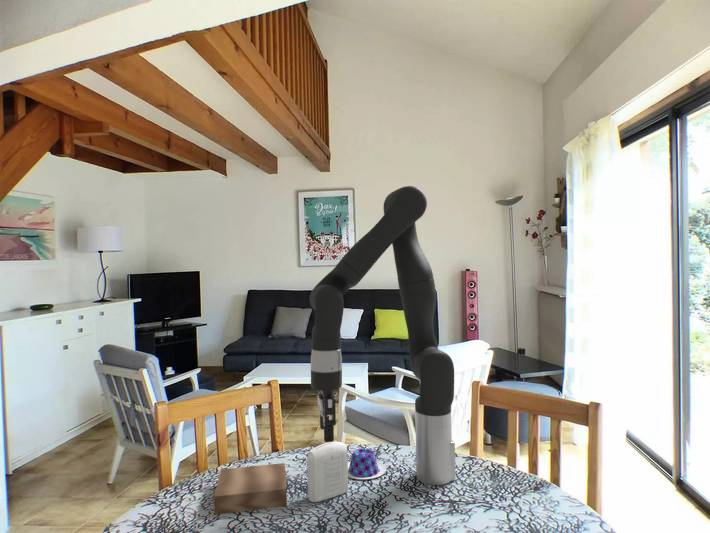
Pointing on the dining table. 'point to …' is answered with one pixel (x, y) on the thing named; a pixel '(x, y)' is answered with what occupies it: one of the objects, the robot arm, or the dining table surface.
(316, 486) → the photo printer
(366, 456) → the pudding
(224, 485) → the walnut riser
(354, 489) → the dining table surface
